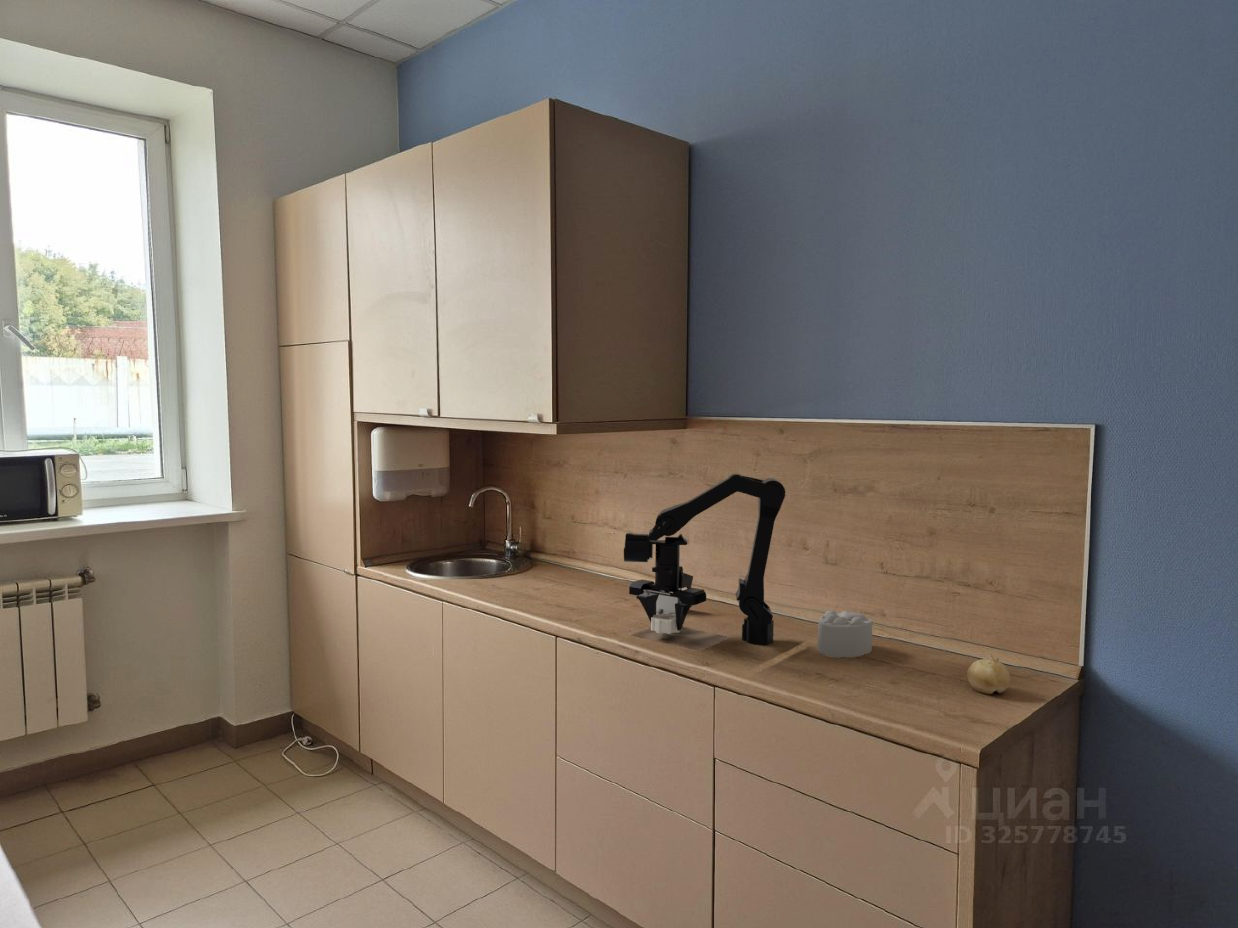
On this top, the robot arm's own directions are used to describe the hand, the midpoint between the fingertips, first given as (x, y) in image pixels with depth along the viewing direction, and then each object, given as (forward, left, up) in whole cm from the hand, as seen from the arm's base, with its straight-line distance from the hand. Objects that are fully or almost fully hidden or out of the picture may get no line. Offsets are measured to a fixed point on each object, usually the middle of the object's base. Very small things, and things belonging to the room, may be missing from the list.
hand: (666, 627), depth 203 cm
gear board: (-2, -3, -4) cm, 5 cm away
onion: (-69, -12, -4) cm, 71 cm away
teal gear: (+4, -7, -2) cm, 8 cm away
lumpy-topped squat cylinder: (-35, -20, -4) cm, 41 cm away
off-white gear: (0, 0, 0) cm, 0 cm away
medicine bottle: (+16, -23, -4) cm, 28 cm away
